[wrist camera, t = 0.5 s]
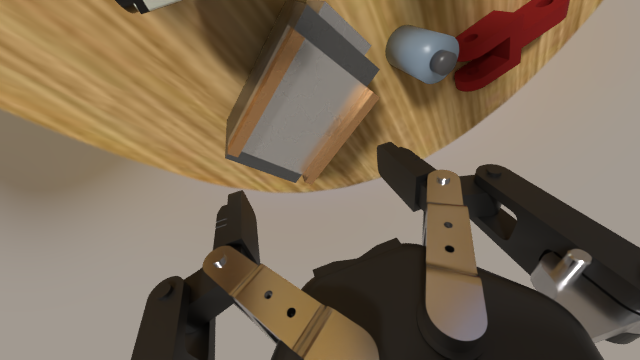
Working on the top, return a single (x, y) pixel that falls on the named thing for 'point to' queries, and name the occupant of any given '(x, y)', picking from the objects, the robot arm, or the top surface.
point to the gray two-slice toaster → (302, 94)
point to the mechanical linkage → (503, 41)
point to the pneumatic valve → (144, 5)
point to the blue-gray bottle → (422, 53)
